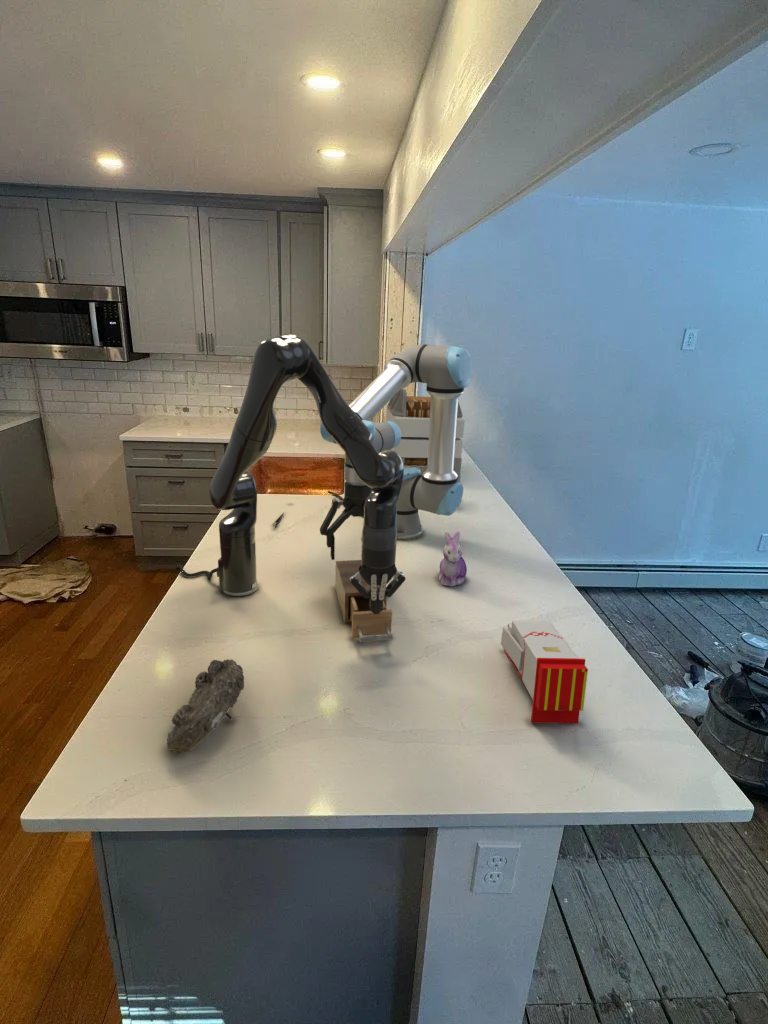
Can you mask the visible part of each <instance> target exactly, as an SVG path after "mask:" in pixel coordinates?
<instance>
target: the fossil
mask: <svg viewBox="0 0 768 1024" xmlns="http://www.w3.org/2000/svg"><path fill="white" fill-rule="evenodd" d="M243 670H244V669H243V667H242V665H240V664H237V662H236V661H235V660H234V659H232V658H231V659H227V658H226V659H224V660H223V661H222V660H217V659H212V660H211V661H210V663H209V665H208V666H207V671H201V672H199V673H198V674H197V675H196V676H195V680H194V684H195V685H194V687H195V689H194V690H193V693H192V694H191V697H190V698H189V700H188V704H184V705H182V706H181V707H180V709H177V710H176V711H175V713H174V715H173V716H172V718H171V723H172V724H173V727H172V730H171V731H170V732H168V734H167V738H166V741H167V742H166V745H167V749H168V750H169V751H173V752H174V753H176V754H178V753H182V752H188V751H189V752H192V751H193V750H195V748H196V747H197V746H199V744H200V743H201V742H203V741H204V740H205V739H206V738H207V737H208V736H209V735H210V734H211V733H212V732H214V730H215V729H217V727H218V726H219V724H220V722H221V721H222V720H223V719H224V718H225V716H226V717H227V719H229V720H233V717H232V715H230V714H229V710H230V709H231V708H234V706H235V704H236V703H237V702H238V699H239V697H240V695H241V693H242V691H243V690H245V689H244V688H245V675H244V671H243Z"/></svg>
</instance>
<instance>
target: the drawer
mask: <svg viewBox="0 0 768 1024" xmlns="http://www.w3.org/2000/svg"><path fill="white" fill-rule="evenodd" d="M369 604H370V599H369V598H367V599H365V598H364V597H363V596H349V608H348V612H349V615H350V618H351V622H350V623H351V638H352V639H358V640H359V642H360V643H365V642H379V641H390V640H393V639H394V634H393V633H392V623H393V622H392V621H393V610H392V609H387V605H386V606H385V604H384V601H383V610H382V612H380V614H374V615H373V612H371V610H370V608H369Z"/></svg>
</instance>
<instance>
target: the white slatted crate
mask: <svg viewBox="0 0 768 1024" xmlns="http://www.w3.org/2000/svg"><path fill="white" fill-rule="evenodd" d="M407 394H408V393H407V390H406V389H405V388H401V389H400V390H399V391H398V392H397V393H396V394H395V395H394V396H393V397H392V398H391V400H390V401H389V402H388V403H387V404H386V413H385V414H386V415H385V422H387V421H391V422H394V423H395V424H396V425H397V426H398V427H399V428H400V431H401V441H400V443H399V444H398V445H397V446H396V447H394V448H392V449H391V450H392V451H394V452H396V453H397V454H398V455H399V456H400V457H401V459H402V462H403V466H404V467H405V466H406V467H408V466H411V467H415V466H416V467H417V466H418V467H427V463H428V444H429V424H430V405H431V396H415V395H414V396H413V395H412V396H411V395H407ZM464 429H465V419H464V418H463V411H462V408H461V405H460V402H459V401H458V411H457V425H456V439H455V454H454V468H453V470H454V471H455V472H456V474H457V475H458V477H457V482H460V483H461V472H462V461H463V460H462V453H463V442H464V441H463V440H462V439H463V438H464V431H465V430H464Z"/></svg>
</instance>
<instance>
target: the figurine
mask: <svg viewBox="0 0 768 1024" xmlns="http://www.w3.org/2000/svg"><path fill="white" fill-rule="evenodd" d="M444 538H445V546H444V548H443V550H442V554H443V558H442V559H441V561H440V562H439V571H438V572H439V573H438V580H439V582H440V583H441V585H442V586H447V587H455V586H457V585H458V586H460V585H461V584H463V583H464V581H465V580H466V576H467V573H468V572H467V571H468V569H467V563H466V561H465V559H464V557H463V551H462V548H461V546H460V538H461V532H460V531H459V530H458V531H456V532H455V534H454V535H453V537H452V536H451V534H450V533H449V532H448V531H446V532H445V533H444Z"/></svg>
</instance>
